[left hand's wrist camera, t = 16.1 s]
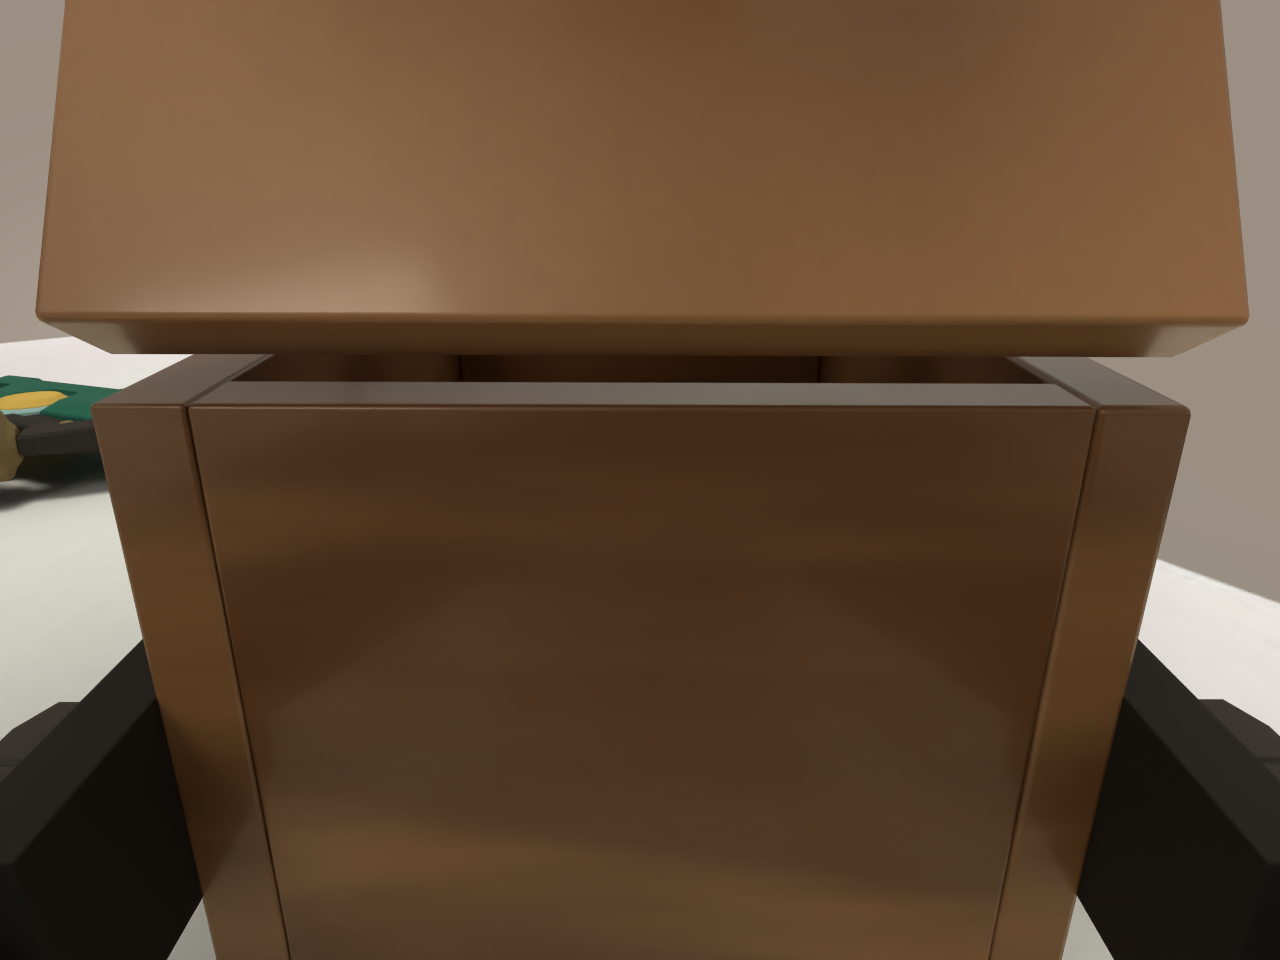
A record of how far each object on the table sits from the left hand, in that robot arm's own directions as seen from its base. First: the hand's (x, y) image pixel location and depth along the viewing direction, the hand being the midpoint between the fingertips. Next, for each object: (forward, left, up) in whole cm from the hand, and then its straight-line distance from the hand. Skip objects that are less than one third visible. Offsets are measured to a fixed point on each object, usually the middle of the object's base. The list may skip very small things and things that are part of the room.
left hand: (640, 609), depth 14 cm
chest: (+2, -1, -7) cm, 7 cm away
